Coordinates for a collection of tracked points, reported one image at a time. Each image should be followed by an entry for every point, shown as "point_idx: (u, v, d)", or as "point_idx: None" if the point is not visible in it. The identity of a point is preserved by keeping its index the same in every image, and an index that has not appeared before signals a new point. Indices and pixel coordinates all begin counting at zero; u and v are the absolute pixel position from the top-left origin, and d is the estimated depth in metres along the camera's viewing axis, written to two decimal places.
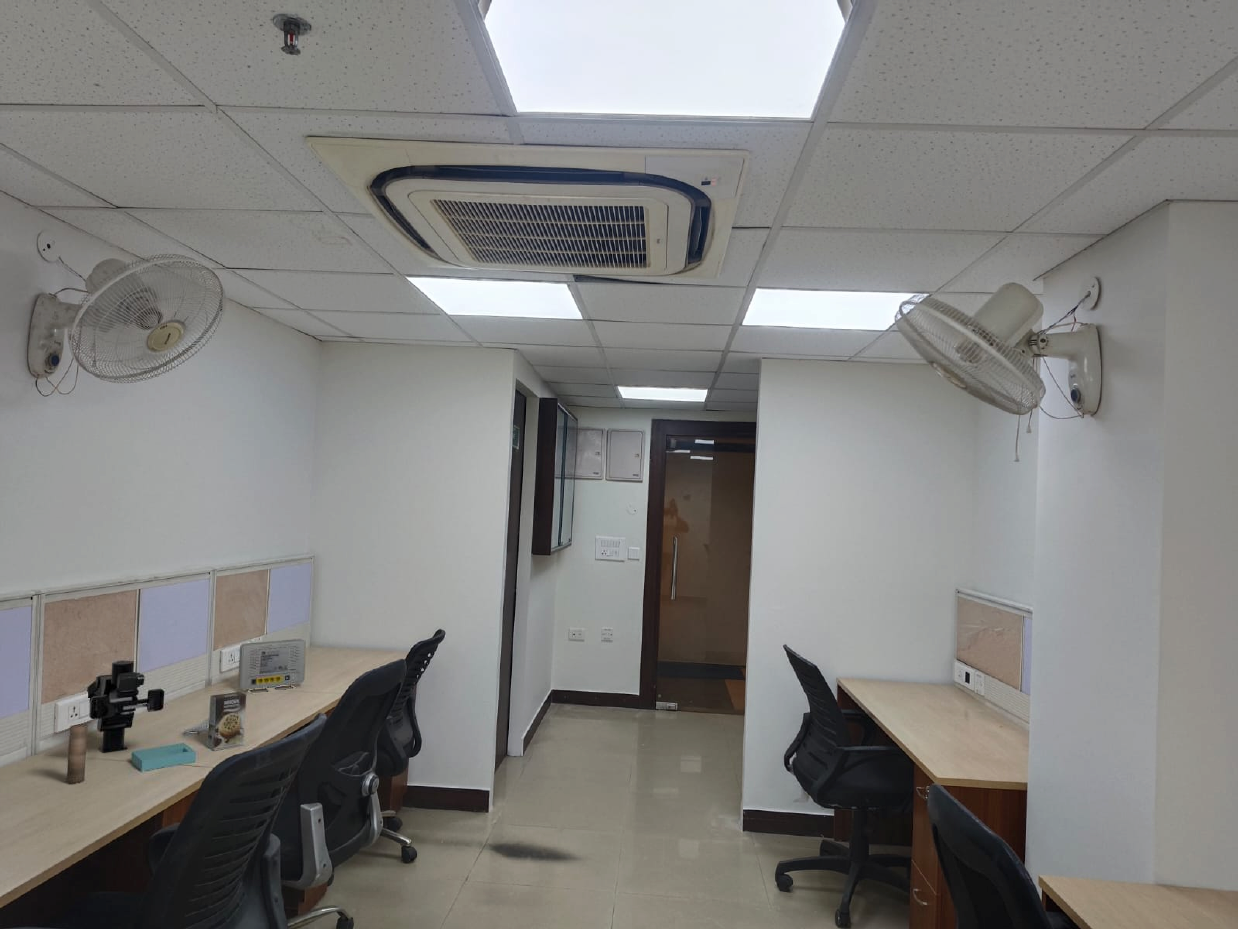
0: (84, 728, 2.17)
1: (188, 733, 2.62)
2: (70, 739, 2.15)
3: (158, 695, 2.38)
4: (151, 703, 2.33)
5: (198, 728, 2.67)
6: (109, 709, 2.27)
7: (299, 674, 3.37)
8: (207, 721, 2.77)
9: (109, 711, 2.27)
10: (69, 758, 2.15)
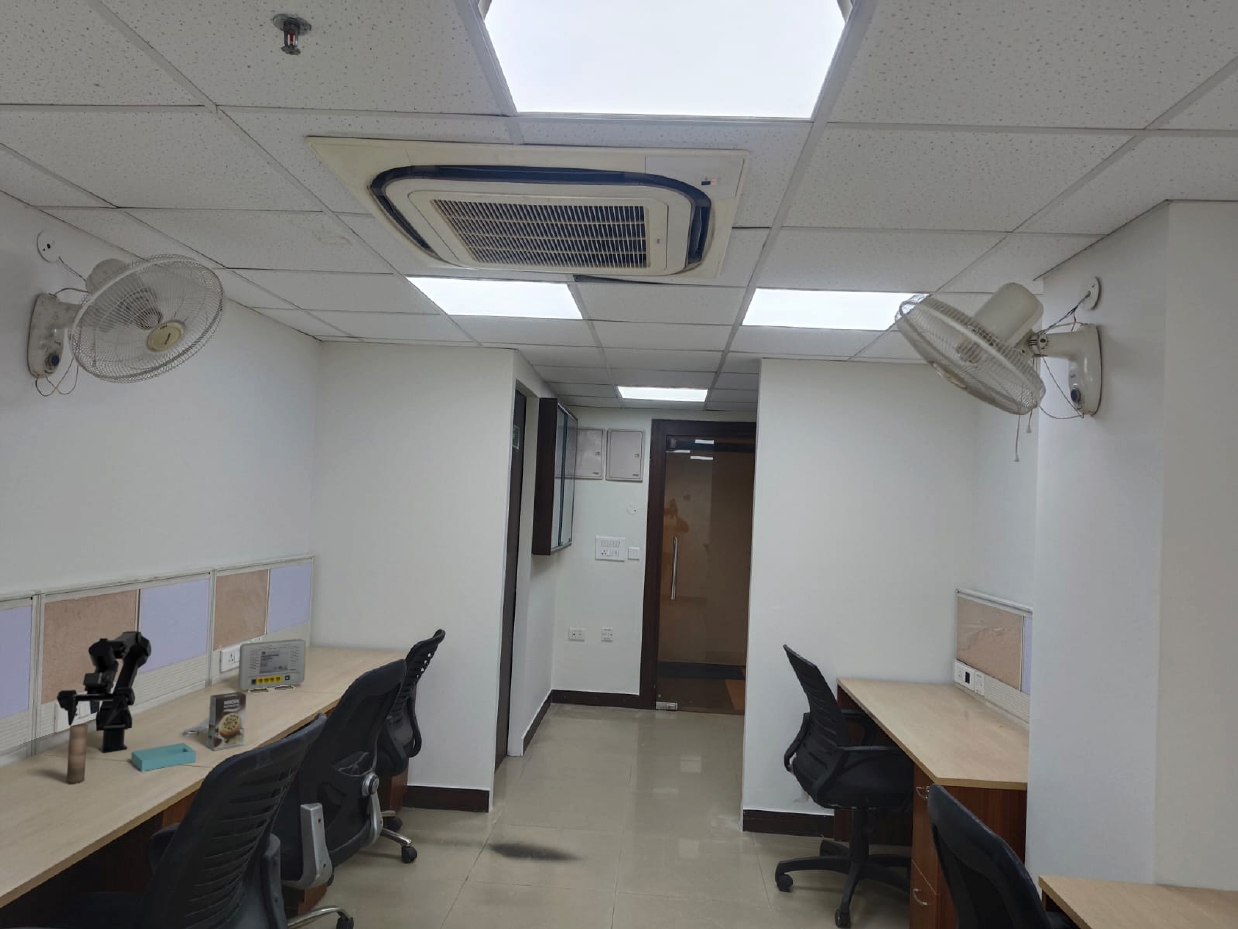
0: (84, 728, 2.17)
1: (188, 733, 2.62)
2: (70, 739, 2.15)
3: (123, 699, 2.30)
4: (108, 716, 2.26)
5: (198, 728, 2.68)
6: (68, 715, 2.24)
7: (299, 674, 3.37)
8: (207, 721, 2.77)
9: None
10: (69, 758, 2.15)
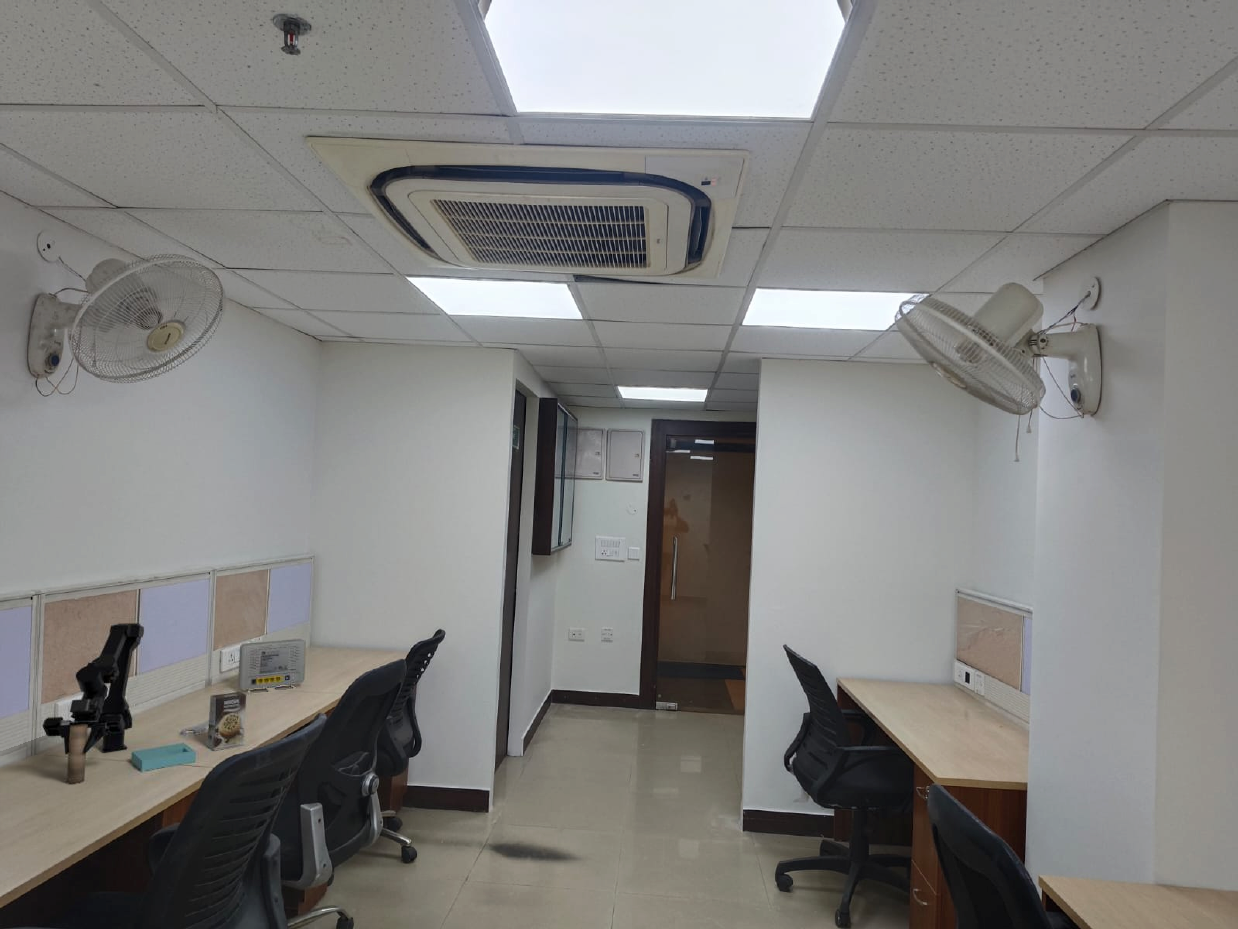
0: (84, 728, 2.17)
1: (184, 732, 2.63)
2: (70, 739, 2.15)
3: (102, 727, 2.20)
4: (86, 745, 2.17)
5: (197, 727, 2.68)
6: None
7: (299, 674, 3.37)
8: None
9: None
10: (69, 758, 2.15)
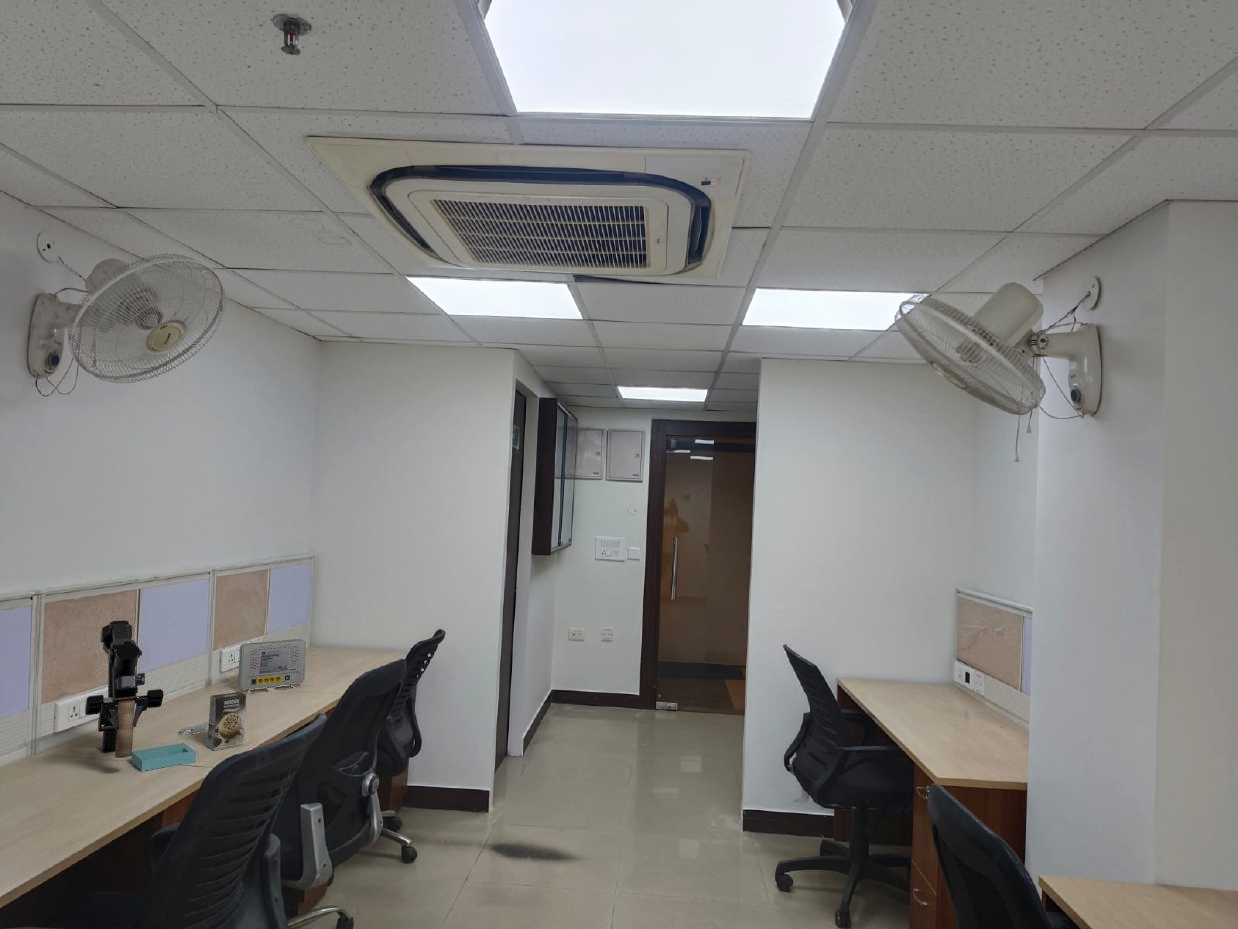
0: (134, 703, 2.24)
1: (182, 732, 2.63)
2: (120, 714, 2.21)
3: (146, 701, 2.28)
4: (135, 719, 2.24)
5: (197, 727, 2.69)
6: (112, 720, 2.21)
7: (299, 674, 3.37)
8: None
9: (112, 721, 2.22)
10: (120, 733, 2.21)
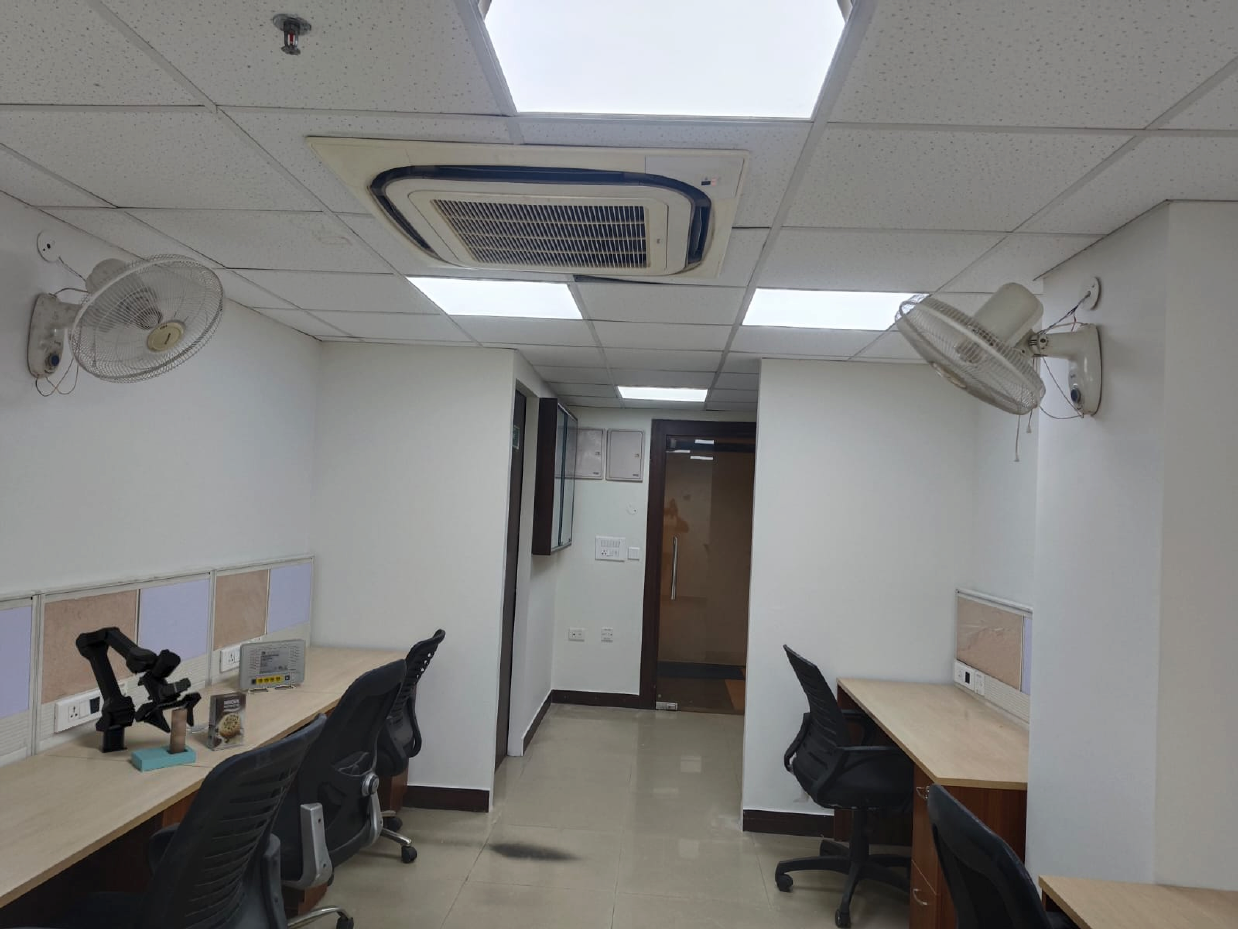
0: None
1: None
2: (177, 722, 2.34)
3: (194, 703, 2.43)
4: (192, 719, 2.39)
5: (197, 727, 2.69)
6: (163, 724, 2.32)
7: (299, 674, 3.37)
8: None
9: (162, 726, 2.32)
10: (177, 739, 2.34)
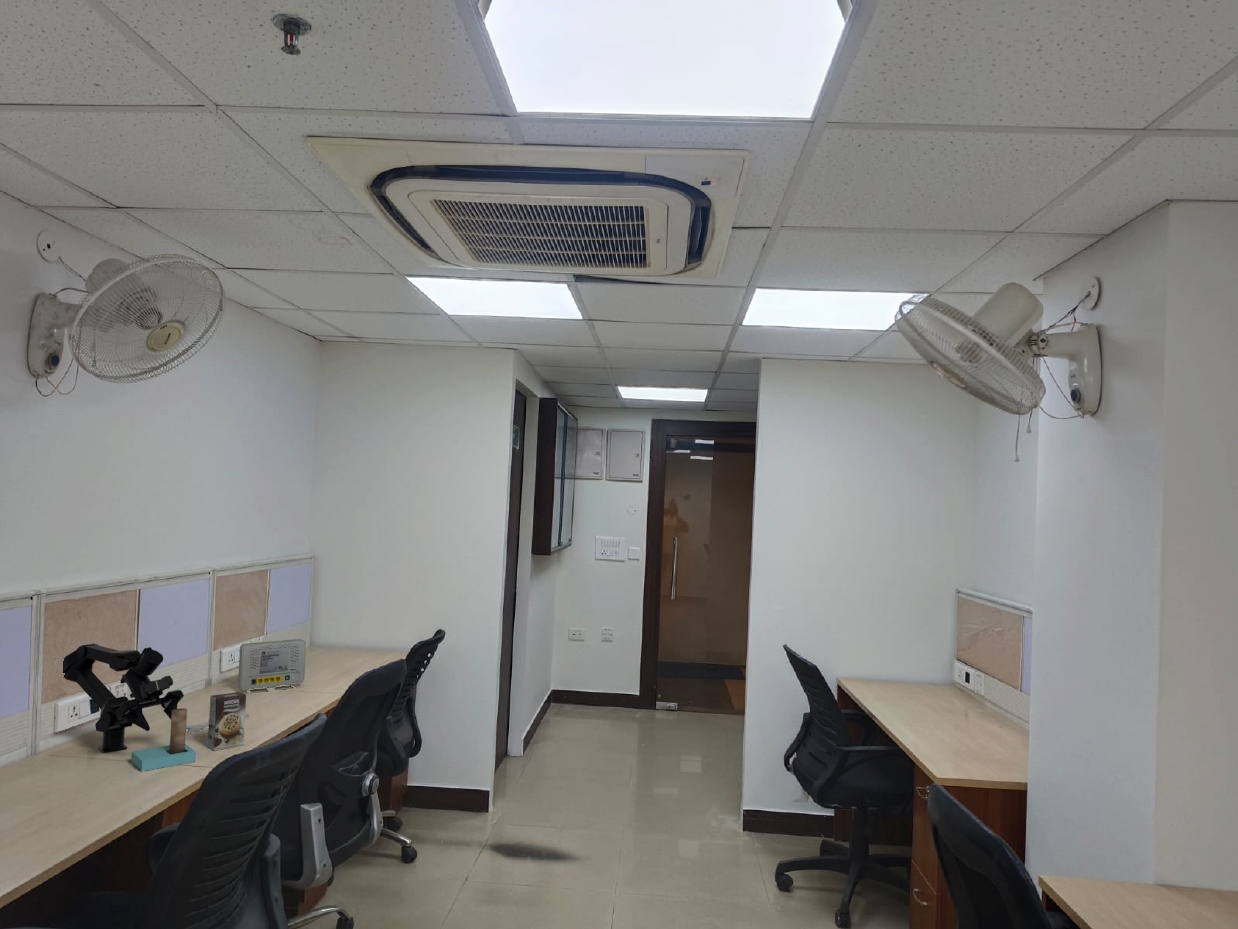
0: None
1: None
2: (177, 722, 2.34)
3: (179, 700, 2.47)
4: None
5: (197, 726, 2.70)
6: (142, 722, 2.34)
7: (299, 674, 3.37)
8: None
9: (141, 724, 2.34)
10: (177, 739, 2.34)
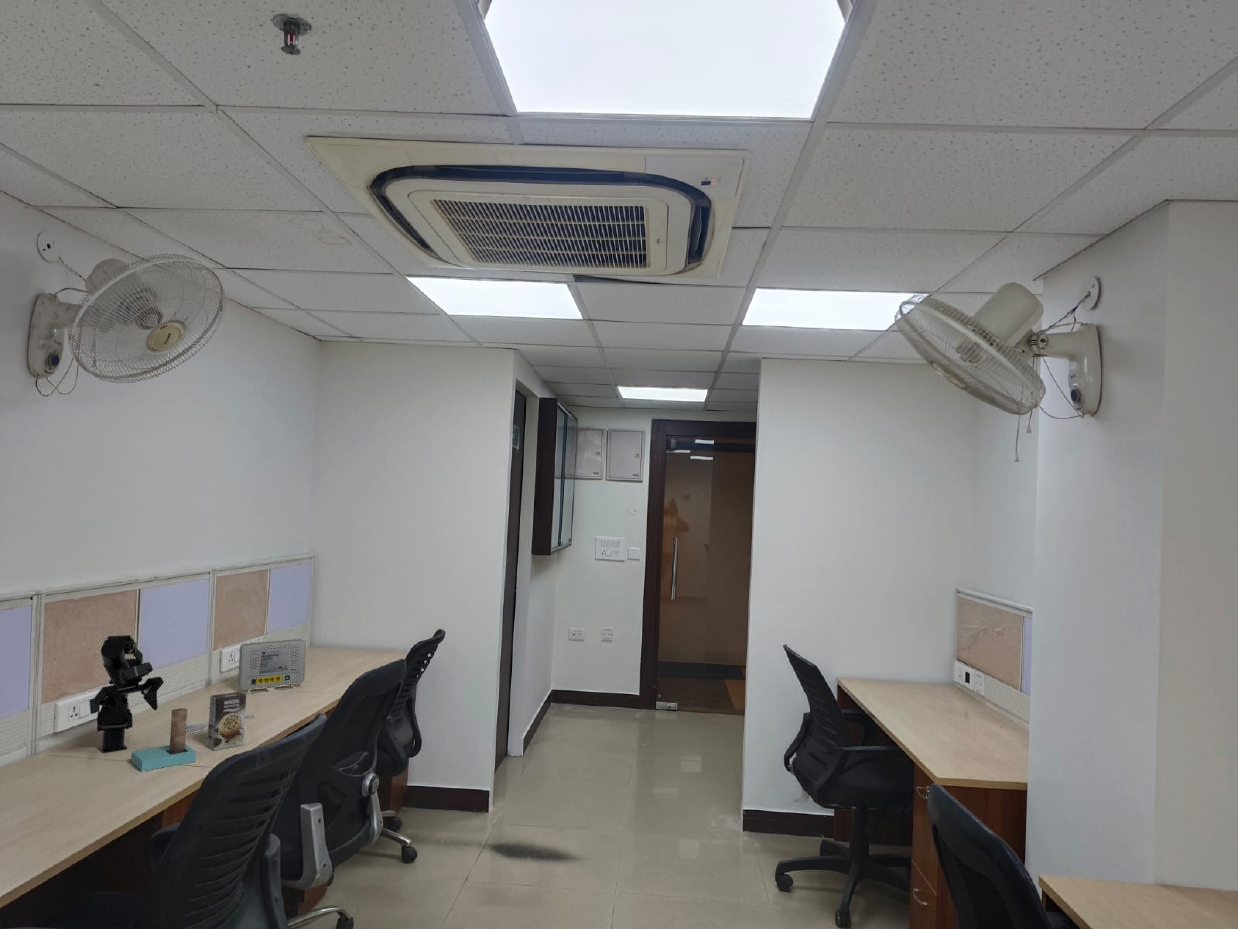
0: (186, 710, 2.37)
1: None
2: (177, 722, 2.34)
3: (158, 687, 2.46)
4: (155, 702, 2.43)
5: (197, 726, 2.70)
6: (121, 708, 2.34)
7: (299, 674, 3.37)
8: None
9: (120, 710, 2.34)
10: (177, 739, 2.34)
